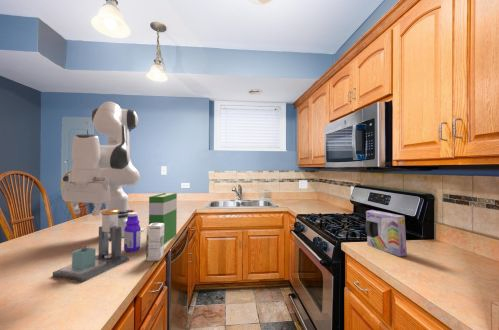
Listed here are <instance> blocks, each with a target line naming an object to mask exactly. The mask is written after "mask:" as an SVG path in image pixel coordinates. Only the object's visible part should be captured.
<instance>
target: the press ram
mask: <svg viewBox="0 0 499 330" xmlns="http://www.w3.org/2000/svg"><path fill="white" fill-rule="evenodd" d="M118 213H119V210H118V209H110V210H107V209H104V210H101V212H100V215H101V217H102V219H101V220H102V221H101V222H102V223H101V226H102V231H103V232H107V241H109V242H111V233H112V228H114V227H118Z"/></svg>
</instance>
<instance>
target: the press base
mask: <svg viewBox="0 0 499 330" xmlns="http://www.w3.org/2000/svg"><path fill="white" fill-rule="evenodd" d="M121 230H122V227H114V228H112V233H111V241H107V232H103V231H102V225H101V226H98V252H97V253H98V254H96V255H95V264H93V265H90V266H88V267H85V268H83V269H80V268H75V267H72V264H70V265H67V266H64V267H62V268H59V269H58V270H54V271H53V272H52V277H53V278H58V279H63V280H68V281H73V282H77V283H78V282H79V283H83V282H86V281H88V280H91V279H92V278H94V277H96V276H99V275H100V274H103V273H105V272H107V271H109V270H111V269H113V268H115V267H118V266H120V265H122V264H124V263H127V262H128V261H130V256H127V255H122V238H121ZM110 242H111V249H110V250H111V251H110V253H109V243H110Z"/></svg>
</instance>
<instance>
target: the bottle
mask: <svg viewBox="0 0 499 330" xmlns="http://www.w3.org/2000/svg"><path fill="white" fill-rule="evenodd" d="M138 216H139V215H138V212H135V211H134V212H131V213H128V219H127V221H126V227H125V229H124V237H123V238H124V239H123V249H124V251H126V252H129V253H133V252H137V251H139V250H140V249H141V232H142V231H141V228H142V227H141V225H140V226H139V222H140V220H139V217H138ZM140 227H141V228H140Z"/></svg>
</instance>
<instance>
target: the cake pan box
mask: <svg viewBox="0 0 499 330" xmlns="http://www.w3.org/2000/svg"><path fill="white" fill-rule="evenodd" d="M365 219H366V220H365V233H366V237H367V238H366V241H367V242H366V243H367V246H369V247H372V248H375V249H378V250H381V251H383V252H385V253H388V254H391V255H394V256H397V257H407V256H408V253H407V252H408V250H407V236H406V235H407V234H406V221H405V220H406V217H405V215H401V214H395V213H390V212H385V211H380V210H374V209H370V210H366V211H365Z"/></svg>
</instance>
